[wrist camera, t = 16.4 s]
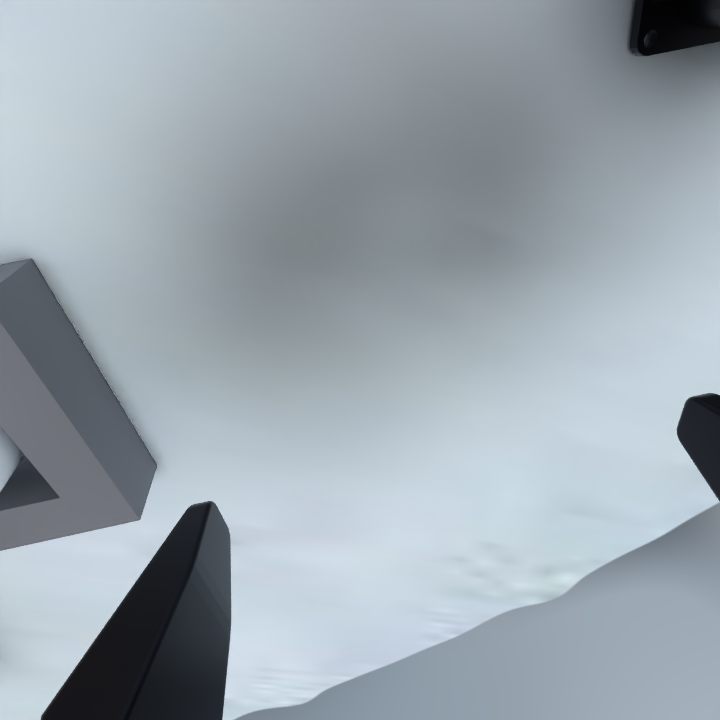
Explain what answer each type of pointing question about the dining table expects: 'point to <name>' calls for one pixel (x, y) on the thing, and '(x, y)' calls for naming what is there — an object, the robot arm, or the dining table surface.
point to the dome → (8, 457)
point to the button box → (60, 424)
